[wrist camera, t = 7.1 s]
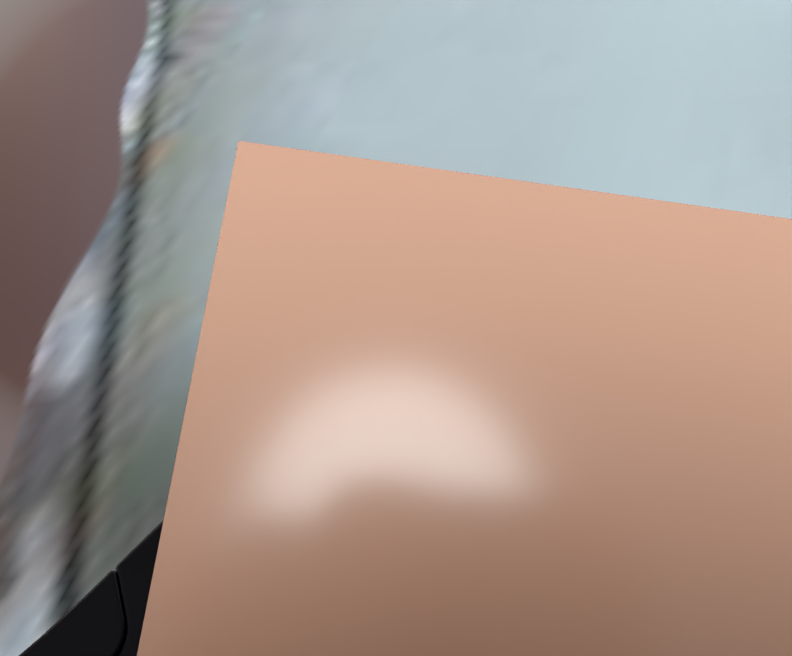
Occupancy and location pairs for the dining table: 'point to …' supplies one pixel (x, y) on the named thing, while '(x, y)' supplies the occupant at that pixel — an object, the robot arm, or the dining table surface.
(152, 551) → the robot arm
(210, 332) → the tall peach box
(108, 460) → the dining table surface
